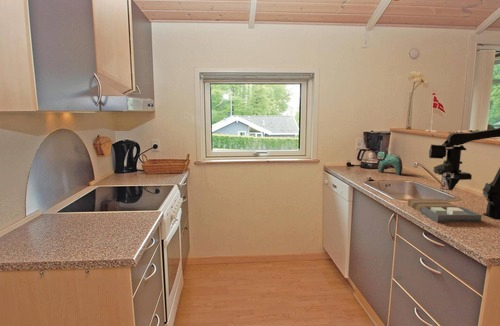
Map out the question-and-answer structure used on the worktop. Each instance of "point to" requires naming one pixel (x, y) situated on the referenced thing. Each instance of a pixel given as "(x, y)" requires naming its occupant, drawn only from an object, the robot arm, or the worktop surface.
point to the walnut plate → (429, 204)
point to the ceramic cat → (389, 162)
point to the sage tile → (438, 210)
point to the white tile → (454, 210)
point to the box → (453, 216)
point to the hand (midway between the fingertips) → (450, 190)
